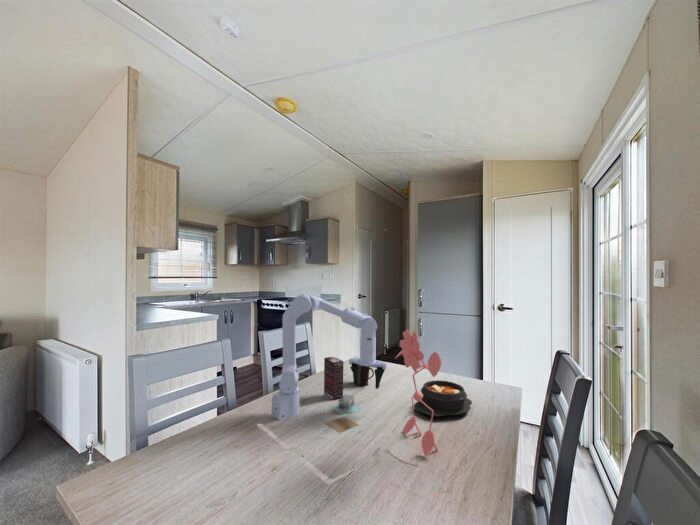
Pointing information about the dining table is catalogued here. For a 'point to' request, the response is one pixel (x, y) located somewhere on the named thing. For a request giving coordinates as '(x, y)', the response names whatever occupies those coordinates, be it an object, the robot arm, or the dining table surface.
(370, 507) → the dining table surface
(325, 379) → the supplement box
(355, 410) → the stand
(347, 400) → the box
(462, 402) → the casserole
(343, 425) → the stand
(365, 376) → the coffee mug
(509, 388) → the dining table surface
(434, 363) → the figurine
